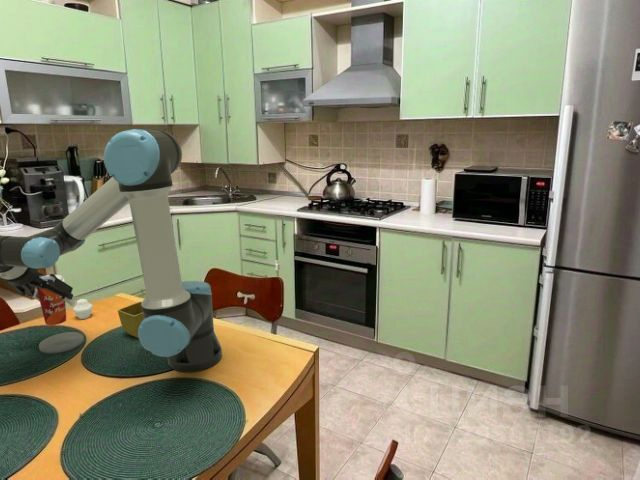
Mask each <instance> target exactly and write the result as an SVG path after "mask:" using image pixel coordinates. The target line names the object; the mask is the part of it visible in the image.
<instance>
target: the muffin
mask: <svg viewBox="0 0 640 480" xmlns="http://www.w3.org/2000/svg"><path fill="white" fill-rule="evenodd" d="M93 307H94V306H93V305H92V303H90V302H89V301H88V299H86V298H80V299H78V300H77V301H75V304H74V306H73V307H72V312H74V315H75V316H77V318H78V319H80V320H86V319H88V318H90V316H91V313H92V311H93Z"/></svg>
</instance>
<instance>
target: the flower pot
mask: <svg viewBox="0 0 640 480" xmlns="http://www.w3.org/2000/svg"><path fill="white" fill-rule="evenodd" d="M141 303H142V301H137V302H135V303H132V304H130V305H127V306H125V307H122V308H119V309H117V313H118V317H119V321H120V324H121V326H122V328H123V329H124V331H125V332H126V333H127V334H128V335H130V336H133V337H135V338H136V339H139V337H138V329H139V326H140V324H141V323H142V321H143V320H144V316H143V311H142V305H141Z"/></svg>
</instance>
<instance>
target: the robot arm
mask: <svg viewBox="0 0 640 480" xmlns="http://www.w3.org/2000/svg"><path fill="white" fill-rule="evenodd" d="M182 158H183V150H182V147H181V144H180V142H179V141H178V140H177V138H175V136H174V135H172V134H171V133H170V132H168V131H165V130H162V129H156V128H155V129H146V128H145V129H144V128H141V129H140V128H133V129H127V130H124V131H123V130H122V131H120V132H118V133H116V134H114V135H113V136H112V137H111V138H110V139H109V141H108V142H107V144H106V146H105V148H104V151H103V163H104V166H105V169H106V172H107V173H108V175H109V176H110V178H109V179H108V180H107V181H106V182H105V183H104V184H102V185H101V186H100V187H99V188H98V189H97V190H96V191H94V192H93V193H92V194H91V195H90V196H88V197H87V198H86V199H85V200H84V201H83V202H81V204H80V205H78V206H77V207H76V208H75V209H73V210H72V211H71V212H70V213H69V214H68V215H66V217H64V218H63V219H62V220H61V221H59V223H58V224H56V225H55V226H54V227H52V228H49V229H47V230H44V231H41V232H38V233H35V234H32V235H29V236H12V235H0V279H3V280H4V281H3V282H4V283H5V284H7V285H9V286H10V287H11V288H13V289H14V290H15V291H16V292H17V293H18V294H19V295H21V296H25V295H27V296H28V297H32V298H33V299H35V300H36V301H38V302H39V303H40V299H39V295H38V290H37V288H40V289H46V290H49V291H51V292H53V293H56V294H58V295H60V298H61V299H63V300H64V301H65V303H67V304H68V305H69V306H71V307H72V306H73V307H75V304H76V299H77V297H76V296H75V295H74V294H73V293H72V292H73V289H74V287H72V286H71V285H69V284H67V282H65V281H64V282H63V281H61V280H60V279H58V278H57V277H56V276H55V275H56V274H54V273H50V274H49V275H50V276H47V275H44V273H41V272H39V269H48V268H52V267H54V266H55V265H56V262H58V260H59V258H60V257H61V256H63V255H65V254H68V253H71V252H73V251H76V250H77V249H79V248H81V247H82V246H83V245H84V244H85V241H86V239H87V238H88V237H90V236H91V235H92V234H93V233H94V232H96V231H97V230H98V229H99V228H100V227H102V226H103V225H104V224H105V223H106V222H108V221H109V220H110V219H112V218H113V217H114V216H115V215H116V214H117V213H118V212H120V211H121V210H122V209H123V208H125V207H126V206H128V204H129V207H130V213H131V219H132V224H133V229H134V235H135V240H136V246H137V252H138V256H139V262H140V269H141V273H142V278H143V284H144V290H145V294H146V295H145V297H144V299H143V300H142V301H141V302H142V303H141V305H142V311H143V316H144V320H143V321H142V323H141V324H140V326H139V329H138V337H139V338H138V340H139V343H140V344H141V345H142V347H143V348H144V349H145V350H146V351H149V352H150V353H151V354H153V355H155V356H156V357H162V358H163V357H165V358H166V359H167V365H168V366H169V367H170V369H172V370H174V371H177V372H183V373H184V372H185V373H193V372H194V373H195V372H199V371H203V370H206V369H208V368H209V369H210V368H211V367H213V366H215V365H216V364H218V363H220V360H221V359H222V356H223V352H222V350H223V349H222V346H221V344H220V341H219V339H218V337H217V335H216V333H215V329H214V328H215V327H214V326H215V325H214V313H213V300H212V299H213V297H212V295H213V293H212V289H211V285H210V284H209V283H207V282H205V281H199V280H186V281H182V276H181V275H182V274H181V270H180V263H179V259H178V258H179V257H178V251H177V244H176V240H175V239H176V238H175V232H174V227H173V226H174V225H173V220H172V219H173V218H172V215H171V207H170V201H169V196H168V194H169V192H170V191H171V190H172V189H173V186H174V185H173V178H172V174H174V173H175V172H176V171H177V170H178V169H179V168H180V165H181V162H182ZM41 284H42V285H41Z"/></svg>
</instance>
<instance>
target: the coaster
mask: <svg viewBox="0 0 640 480" xmlns="http://www.w3.org/2000/svg"><path fill="white" fill-rule="evenodd" d="M83 343H84V335H83V334H82V333H80V332H77V331H68V332H61V333H56V334H53V335H50V336H47V337H46V338H44V339H43V340H41V341H40V342H39V344H38V349H39V351H40V352H41V353H42V354H47V355H49V354H51V355H52V354H61V353H65V352H68V351H71V350H74V349H76V348H77V347H80V345H82V344H83Z"/></svg>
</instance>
